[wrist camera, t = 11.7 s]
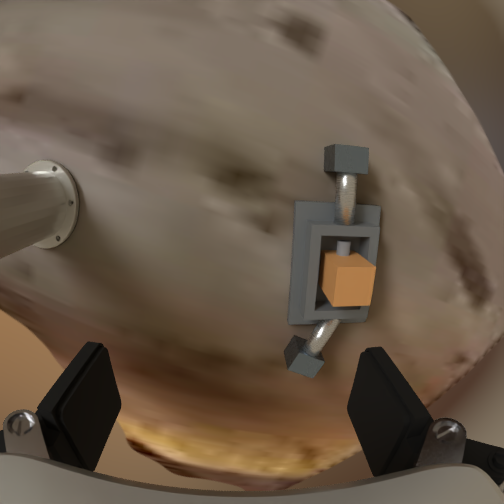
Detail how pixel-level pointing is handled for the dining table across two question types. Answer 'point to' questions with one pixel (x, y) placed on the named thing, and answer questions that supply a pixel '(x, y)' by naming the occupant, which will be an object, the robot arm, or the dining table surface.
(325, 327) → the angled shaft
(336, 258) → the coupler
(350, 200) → the straight shaft
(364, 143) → the dining table surface
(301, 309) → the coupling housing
